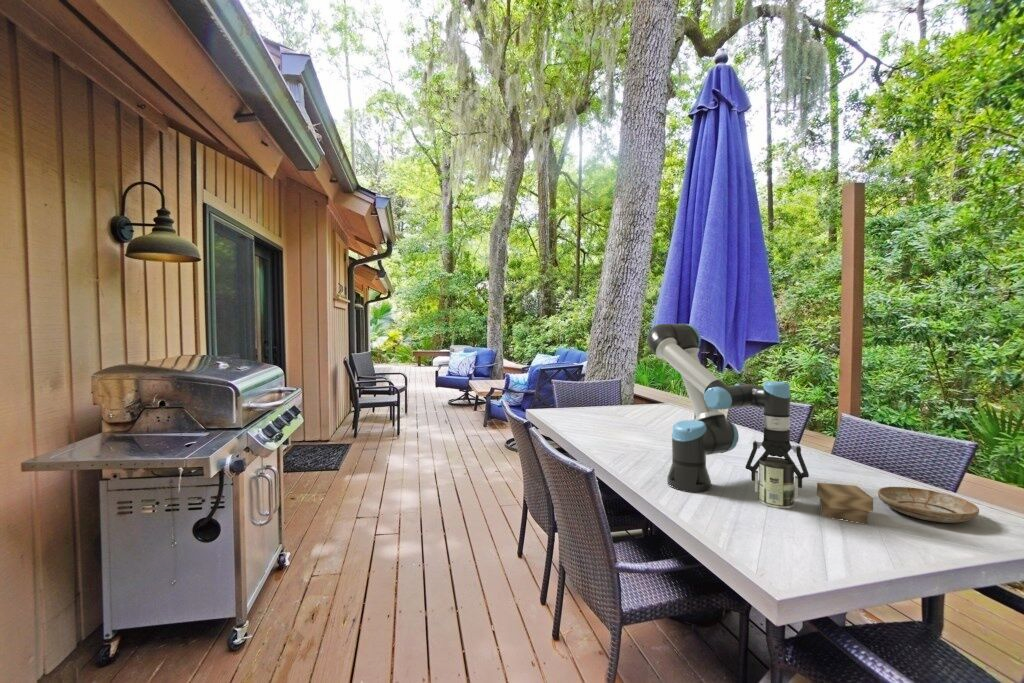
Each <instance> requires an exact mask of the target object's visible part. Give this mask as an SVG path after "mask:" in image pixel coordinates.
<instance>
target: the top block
mask: <svg viewBox="0 0 1024 683" xmlns="http://www.w3.org/2000/svg"><path fill="white" fill-rule="evenodd" d="M816 495H817V497H818V498H819V499H820V498H821V499H822V500H823V501H824V502H825V503H826V504H827V505H828V506H829V507H830V508H838V509H849V510H860V511H867V512H874V497H872V496H871V495H869V494H868V493H867V492H866V491H865V490H863V489H862V488H860V487H859V486H858V485H851V484H840V483H826V482H816Z"/></svg>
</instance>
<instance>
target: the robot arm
mask: <svg viewBox="0 0 1024 683" xmlns="http://www.w3.org/2000/svg"><path fill="white" fill-rule="evenodd" d="M701 341H702V337H701V333H700V332H699V330H698V328H697V327H695V326H694V325H693V324H690V323H689V324H688V323H683V322H681V323H659V324H656V325H655V326H653V327H652V328H651V329H650V330H649V331H648V334H647V338H646V343H647V345H648V348H649V350H650V351H651V352H652V354H654V355H655V356H656V357H657V358H658V359H660V360H662V359H663V360H664V361H665V362H667V363H668V364H669V365H670V366H671V367H672V368H673V369H674V370H675V371H677V372H678V373H679V374H680V377H681V379H682V382H683V384H684V387H685V390H686V393H687V396H688V398H689V401H690V404H691V406H692V409H693V412H694V414H695V419H690V420H687V419H686V420H681V421H677V422H676V423H674V424H673V426H672V433H671V445H672V446H671V448H672V449H671V451H672V452H671V455H672V456H671V457H672V458H671V459H672V460H671V461H672V462H671V466H670V469H669V472H668V475H667V476H666V479H667V480H666V482H668V483H667V485H668V484H669V485H671V486H673V487H675V488H678V489H681V490H680V491H682V490H685V491H684V492H688V491H691V492H692V493H703V492H708V491H710V490H711V488H712V481H711V478H710V474H709V472H708V469H707V456H709V455H715V454H724V453H727V452H730V451H732V450H734V449H735V448H736V446H737V445H738V442H739V430H738V428H737V426H736V425H735V424H734V423H733V422H732V421H730V420H727V418H726V416H725V415H726V414H725V413H724V412H722V411H723V410H727V409H735V408H745V407H746V408H747V407H752V408H753V407H754V408H760V409H763V427H764V428H763V441H757V440H753V442H752V449H751V452H750V454H749V457H748V459H747V461H746V464H745V469H746V470H749V471H750V472H751V473H750V474H751V475H750V476H751V482H754V484H755V485H754V491H755V493H759V466H760V463H759V460H762V461H764V460H765V459H766V458H767V457H778V458H784V459H786V460H787V462H788V463H789V464H794V463H795V462H794V460H793V459H792V458H791V455H790V454H789V452H790V451H791V450H792V451H793V453H795V454H796V457H797V459H798V463H799V465H800V468H801V470H802V472H801V471H800V469H799V468H798V467H797V465H796V464H795V465H794V499H797V500H798V499H799V489H802V488H803V479H804V478H809V477H810V474H809V471H808V469H807V466H806V463H805V460H804V458H803V455H802V446H800V445H798V444H797V445H792V444H791V441H790V440H791V438H790V437H791V430H790V428H791V413H790V411H791V410H790V408H791V397H792V396H791V395H792V394H791V389H790V388H791V385H790V384H789V383H788V382H786V381H776V380H768V381H765V382H764V383H763V385H755V384H748V383H735V384H733V385H728V384H726V383H725V382H724V381H722V380H721V379H719V378H718V377H717V376H715V374H714V373H712V372H711V371H710V370H709V369H708V368H707V367H705V366H704V365H703V364H701V362H700V358H699V356H698V355H699V352H700V348H699V347H700V346H701ZM761 447H762V448H763V449H764V450H765V451H764V452H763V453H762V454H761V456H760V457H759V458H760V459H759V458H758V460H756V462H755V463H754V464H753V465H752V463H753V460H754V458H755V455H756V453H757V451H758V449H760V448H761ZM669 485H668V486H669ZM671 486H670V487H671ZM673 487H672V488H673ZM675 488H674V489H675ZM678 489H677V490H678ZM691 492H690V493H691Z"/></svg>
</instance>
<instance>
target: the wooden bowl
mask: <svg viewBox="0 0 1024 683" xmlns="http://www.w3.org/2000/svg"><path fill="white" fill-rule="evenodd" d="M877 497H878V498H879V499H880V501H881V502H882V503H884V504H885V505H886V506H888V507H889V508H891V509H892V510H895V511H897V512H899V513H901V514H903V515H906V516H908V517H909V516H910V517H912V518H915V519H919V520H924V521H929V522H935V523H943V524H945V523H947V524H952V523H962V522H963V523H964V522H967V521H970V520H973V519H975V518H976V517H977V516H978V515H979V513H980V508H979V507H978V506H977V505H976V504H975V503H973V502H971V501H969V500H966V499H964V498H961V497H958V496H954V495H952V494H949V493H944V492H940V491H935V490H931V489H924V488H920V487H919V488H917V487H910V486H885V487H881V488H879V489H878V491H877Z"/></svg>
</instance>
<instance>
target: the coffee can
mask: <svg viewBox="0 0 1024 683" xmlns="http://www.w3.org/2000/svg"><path fill="white" fill-rule="evenodd" d="M758 459H760V457H759V458H758ZM759 463H760V466H759V467H758V501H759V502H760V503H761V504H762V505H765V506H768V507H771V508H775V509H786V508H787V509H791V508H792V509H793V508H794V507H795V472H794V465H796V463H795V462H794V464H789V463H788V462H787V460H786V459H785V458H784V457H778V456H768V457H767V458H766V459H765V460H764V461H762V460H759Z"/></svg>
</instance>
